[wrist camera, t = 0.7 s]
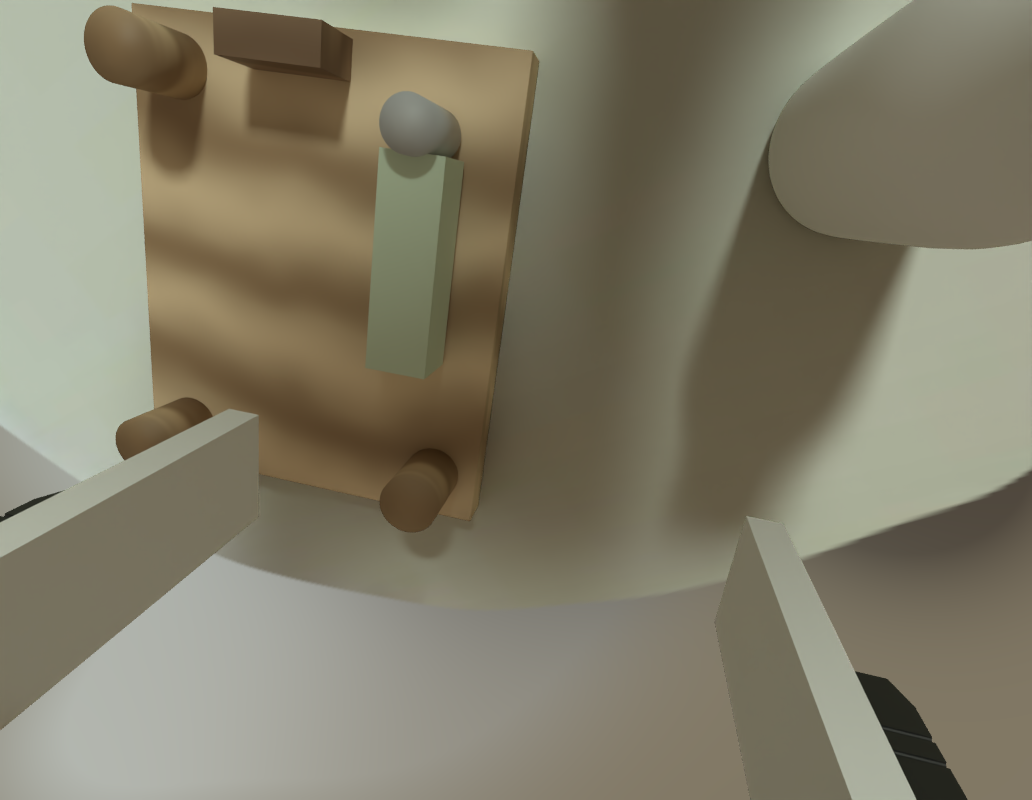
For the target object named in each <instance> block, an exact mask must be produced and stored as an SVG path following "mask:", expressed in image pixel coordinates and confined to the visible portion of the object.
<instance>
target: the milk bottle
mask: <svg viewBox="0 0 1032 800" xmlns="http://www.w3.org/2000/svg"><path fill="white" fill-rule="evenodd" d="M768 163H769V174H770V179H771V183H772V186H773V189H774V192H775V194H776V196H777V198H778V200H779V202H780V203H781V205H782V206H783V207H784V209H785V210H786V211H787V212H788V213H789V214H790V215H791V216H792V217H793V218H794V219H795V220H796V221H798V222H799V223H800V224H802V225H803V226H805V227H807V228H809V229H811V230H813V231H815V232H818V233H821V234H825V235H829V236H834V237H838V238H846V239H853V240H861V241H869V242H877V243H886V244H895V245H905V246H915V247H924V248H942V249H984V248H993V247H1001V246H1008V245H1014V244H1020V243H1024V242H1028V241H1032V0H914V1H912V2H911V3H909V4H908V5H906V6H905V7H903V8H902V9H900V10H899V11H898V12H896V13H895V14H894V15H892V16H891V17H889V18H888V19H887V20H885V21H884V22H882V23H881V24H880V25H878V26H877V27H876V28H874V29H873V30H871V31H870V32H869V33H867V34H866V35H865V36H863V37H862V38H860V39H859V40H858V41H856V42H855V43H854V44H852V45H851V46H850V47H848V48H847V49H846V50H844V51H843V52H842V53H840V54H839V55H838V56H836V57H835V58H834V59H833V60H831V61H830V62H829V63H827V64H826V65H825V66H823V67H822V68H821V69H820V70H818V71H817V72H816V73H814V74H813V75H812V76H811V77H810V78H809V79H808V80H807V81H806V82H805V83H804V84H802V85H801V86H800V88H799V89H798V90H797V91H796V92H795V93H794V94H793V96H792V97H791V98H790V99H789V101H788V102H787V104H786V105H785V107H784V108H783V110H782V112H781V114H780V116H779V118H778V120H777V122H776V125H775V127H774V130H773V133H772V137H771V142H770V147H769V160H768Z"/></svg>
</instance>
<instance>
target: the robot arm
mask: <svg viewBox="0 0 1032 800" xmlns="http://www.w3.org/2000/svg"><path fill="white" fill-rule="evenodd" d="M258 517H259V415H257V414H252V413H247V412H242V411H238V410H233V409H228V410H226V411H223V412H221V413H219V414H217V415H215V416H213V417H211V418H209V419H207V420H205V421H203V422H201V423H199V424H197V425H195V426H193V427H191V428H189V429H187V430H185V431H183V432H181V433H179V434H177V435H175V436H173V437H171V438H169V439H167V440H165V441H163V442H161V443H159V444H157V445H155V446H153V447H151V448H149V449H147V450H145V451H143V452H141V453H139V454H137V455H135V456H133V457H131V458H129V459H127V460H125V461H123V462H121V463H119V464H117V465H115V466H113V467H111V468H109V469H107V470H105V471H103V472H101V473H99V474H97V475H95V476H93V477H91V478H89V479H87V480H85V481H83V482H81V483H79V484H77V485H75V486H73V487H71V488H69V489H67V490H64V491H61V492H57V493H54V494H50V495H47V496H44V497H40V498H37V499H34V500H32V501H29V502H28V503H25V504H23V505H21V506H19V507H17V508H15V509H13V510H11V511H9V512H7V513H5V516H4V517H1V516H0V730H1V729H2V728H4V727H5V726H6V725H7V724H9V722H11V721H12V720H13V719H15V718H16V717H17V716H18V715H19V714H21V713H22V712H23V711H24V710H25V709H27V708H28V707H29V706H30V705H32V704H33V703H34V702H35V701H36V700H38V699H39V698H40V697H41V696H42V695H44V694H45V693H46V692H47V691H48V690H50V689H51V688H52V687H53V686H54V685H56V684H57V683H58V682H59V681H61V680H62V679H63V678H64V677H65V676H67V675H68V674H69V673H70V672H71V671H72V670H74V669H75V668H76V667H77V666H79V665H80V664H81V663H82V662H84V661H85V660H86V659H87V658H88V657H90V656H91V655H92V654H93V653H94V652H96V651H97V650H98V649H99V648H100V647H102V646H103V645H104V644H105V643H106V642H108V641H109V640H110V639H111V638H113V637H114V636H115V635H116V634H117V633H119V632H120V631H121V630H122V629H123V628H125V627H126V626H127V625H128V624H130V623H131V622H132V621H133V620H134V619H136V618H137V617H138V616H139V615H140V614H142V613H143V612H144V611H145V610H146V609H148V608H149V607H150V606H151V605H152V604H154V603H155V602H156V601H157V600H159V599H160V598H161V597H162V596H163V595H165V594H166V593H167V592H168V591H169V590H171V589H172V588H173V587H174V586H175V585H177V584H178V583H179V582H180V581H182V580H183V579H184V578H185V577H186V576H188V575H189V574H190V573H191V572H193V571H194V570H195V569H196V568H197V567H198V566H200V565H201V564H202V563H203V562H205V561H206V560H207V559H208V558H209V557H211V556H212V555H213V554H214V553H216V552H217V551H218V550H219V549H220V548H222V547H223V546H224V545H225V544H226V543H228V542H229V541H230V540H231V539H232V538H234V537H235V536H236V535H237V534H239V533H240V532H241V531H242V530H243V529H245V528H246V527H247V526H248V525H249V524H251V523H252V522H253V521H254V520H255V519H257V518H258ZM715 627H716V632H717V637H718V642H719V647H720V652H721V656H722V661H723V667H724V672H725V676H726V682H727V687H728V691H729V697H730V701H731V706H732V711H733V717H734V722H735V727H736V731H737V736H738V742H739V746H740V752H741V756H742V761H743V766H744V771H745V776H746V781H747V786H748V791H749V796H750V800H967V798H966V796H965V794H964V792H963V791H962V789H961V787H960V785H959V784H958V782H957V780H956V778H955V777H954V775H953V774H952V772H951V770H950V769H948V768H946V761H945V759H944V758H943V756H942V754H941V752H940V750H939V749H938V747H937V745H936V744H935V743H933V742H932V736H931V734H930V733H929V731H928V729H927V728H926V726H925V724H924V722H923V720H922V719H921V717H920V715H919V713H918V712H917V710H916V708H915V707H914V706H913V705H912V704H911V703H910V702H909V701H908V700H907V699H906V698H905V697H904V696H903V694H901V693H900V692H899V690H898V689H897V688H896V687H895V686H894V685H893V684H892V683H891V682H890V681H889V680H888V679H886V678H881V677H877V676H872V675H868V674H864V673H860V672H856V671H854V669H853V667H852V665H851V663H850V661H849V659H848V657H847V654H846V652H845V650H844V648H843V646H842V644H841V642H840V640H839V638H838V636H837V634H836V632H835V629H834V627H833V625H832V623H831V621H830V620H829V617H828V615H827V613H826V611H825V609H824V607H823V605H822V603H821V600H820V599H819V596H818V594H817V592H816V590H815V588H814V586H813V584H812V582H811V580H810V578H809V576H808V573H807V571H806V569H805V567H804V565H803V563H802V561H801V559H800V557H799V555H798V553H797V551H796V549H795V546H794V544H793V542H792V540H791V538H790V536H789V534H788V532H787V530H786V528H785V526H784V524H783V523H779V522H774V521H769V520H764V519H759V518H754V517H750V516H746V518H745V522H744V525H743V528H742V532H741V535H740V538H739V542H738V545H737V548H736V552H735V555H734V558H733V562H732V565H731V568H730V572H729V575H728V578H727V582H726V585H725V588H724V592H723V595H722V598H721V602H720V605H719V609H718V612H717V615H716V619H715Z"/></svg>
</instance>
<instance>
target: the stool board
mask: <svg viewBox="0 0 1032 800" xmlns="http://www.w3.org/2000/svg"><path fill="white" fill-rule="evenodd" d="M84 45H85V50H86V53H87V56H88V59H89V61H90V63H91V64H92V66H93V68H94V69H95V70H96V71H97V73H98V74H99V75H101V76H102V77H103V78H104V79H106V80H108V81H110V82H112V83H116V84H120V85H124V86H128V87H132V88H136V92H137V110H138V127H139V145H140V163H141V181H142V199H143V217H144V235H145V253H146V271H147V289H148V306H149V324H150V342H151V360H152V378H153V396H154V410H151V411H149V412H146V413H144V414H142V415H139V416H137V417H134V418H132V419H130V420H127V421H125V422H123V423H122V424H121V425H120V426H119V428H118V430H117V432H116V445H117V448H118V451H119V453H120V455H121V456H122V458H123V459H124V460H127V459H129V458H131V457H133V456H135V455H137V454H139V453H141V452H143V451H145V450H147V449H149V448H151V447H153V446H155V445H157V444H159V443H161V442H163V441H165V440H167V439H169V438H171V437H173V436H175V435H177V434H179V433H181V432H183V431H185V430H187V429H189V428H191V427H193V426H195V425H197V424H199V423H201V422H203V421H205V420H207V419H209V418H211V417H213V416H215V415H217V414H219V413H221V412H223V411H226V410H228V409H233V410H238V411H242V412H247V413H252V414H257V415H259V474H261V475H266V476H270V477H275V478H279V479H283V480H288V481H292V482H297V483H301V484H306V485H310V486H315V487H319V488H324V489H328V490H333V491H337V492H342V493H346V494H351V495H355V496H359V497H364V498H368V499H373V500H377V501H380V508H381V511H382V514H383V515H384V517H385V518H386V520H387V521H388V522H389V523H390V524H391V525H393V526H394V527H396V528H397V529H399V530H402V531H405V532H419V531H422V530H424V529H426V528H427V527H429V526H430V525H431V524H432V522H433V521H434V519H435V518H436V516H437V515H438V514H440V515H444V516H449V517H453V518H458V519H462V520H467V521H470V520H471V518H472V516H473V514H474V512H475V511H476V509H477V507H478V504H479V496H480V489H481V482H482V475H483V467H484V460H485V453H486V445H487V438H488V431H489V424H490V416H491V409H492V402H493V394H494V387H495V380H496V373H497V365H498V358H499V351H500V344H501V336H502V329H503V322H504V314H505V307H506V300H507V293H508V285H509V278H510V271H511V264H512V256H513V249H514V242H515V234H516V227H517V220H518V213H519V205H520V198H521V191H522V184H523V176H524V169H525V162H526V154H527V147H528V140H529V133H530V125H531V118H532V111H533V104H534V96H535V89H536V82H537V74H538V67H539V60H538V58H537V57H536V55H535V54H534V52H533V51H530V50H521V49H513V48H504V47H496V46H488V45H479V44H471V43H463V42H454V41H446V40H437V39H429V38H421V37H412V36H404V35H396V34H387V33H379V32H370V31H362V30H354V29H345V28H337V27H332V26H331V25H329V24H327V23H326V22H324V21H323V20H318V19H310V18H301V17H293V16H284V15H276V14H267V13H259V12H250V11H242V10H233V9H225V8H216V7H213V13H211V12H203V11H194V10H186V9H178V8H169V7H161V6H152V5H144V4H136V3H132V12H129V11H127V10H124V9H122V8H119V7H116V6H103V7H100V8H98V9H96V10H95V11H94V12H93V13H92V14H91V15H90V17H89V18H88V21H87V23H86V26H85V31H84ZM402 91H411V92H414V93H417V94H419V95H421V96H422V97H424V98H426V99H428V100H430V101H432V102H433V103H435V104H437V105H439V106H441V107H442V108H444V109H446V110H448V111H449V112H451V113H452V114H453V115H454V116H455V118H456V119H457V121H458V123H459V125H460V129H461V142H460V146H459V148H458V150H457V152H456V153H455V154H454V155H453V156H452V157H451V158H452V159H456V160H459V161H462V162H464V169H463V178H462V188H461V197H460V206H459V216H458V225H457V234H456V244H455V253H454V263H453V272H452V281H451V291H450V300H449V309H448V319H447V328H446V338H445V347H444V356H443V365H441V366H440V367H439V368H438V369H436V370H435V371H434V372H433V373H431V374H430V375H429V376H428V377H427V378H425V379H420V378H414V377H409V376H404V375H399V374H394V373H389V372H384V371H378V370H373V369H368V368H365V363H366V347H367V331H368V316H369V300H370V284H371V268H372V253H373V237H374V221H375V205H376V190H377V174H378V158H379V147H383V148H390V147H389V146H388V145H387V144H386V143H385V141H384V139H383V137H382V135H381V132H380V127H379V117H380V112H381V109H382V107H383V105H384V103H385V102H386V101H387V100H388V98H390V97H391V96H392V95H394V94H396V93H398V92H402ZM390 149H391V148H390Z"/></svg>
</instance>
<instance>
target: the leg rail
mask: <svg viewBox="0 0 1032 800" xmlns="http://www.w3.org/2000/svg"><path fill="white" fill-rule="evenodd" d="M379 127H380V132H381V135H382V137H383V139H384V141H385V143H386V144H387V145H388V146H389V147H390V148H391V149H390V148H383V147H379V158H378V174H377V190H376V205H375V221H374V237H373V253H372V268H371V284H370V300H369V316H368V331H367V347H366V363H365V368H368V369H373V370H378V371H384V372H389V373H394V374H399V375H404V376H409V377H414V378H420V379H425V378H427V377H428V376H429V375H430V374H431V373H433V372H434V371H435V370H436V369H438V368H439V367H440V366H441V365H443V356H444V347H445V338H446V328H447V319H448V309H449V300H450V291H451V281H452V272H453V263H454V253H455V244H456V234H457V225H458V216H459V206H460V197H461V188H462V178H463V169H464V162H462V161H459V160H456V159H452V158H451V157H452V156H453V155H454V154H455V153H456V152H457V150H458V148H459V146H460V142H461V129H460V125H459V123H458V121H457V119H456V118H455V116H454V115H453V114H452V113H451V112H449V111H448V110H446V109H444V108H442V107H441V106H439V105H437V104H435V103H433V102H432V101H430V100H428V99H426V98H424V97H422V96H421V95H419V94H417V93H414V92H411V91H402V92H398V93H396V94H394V95H392V96H391V97H390V98H388V100H387V101H386V102H385V103H384V105H383V107H382V109H381V112H380V117H379Z"/></svg>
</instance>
